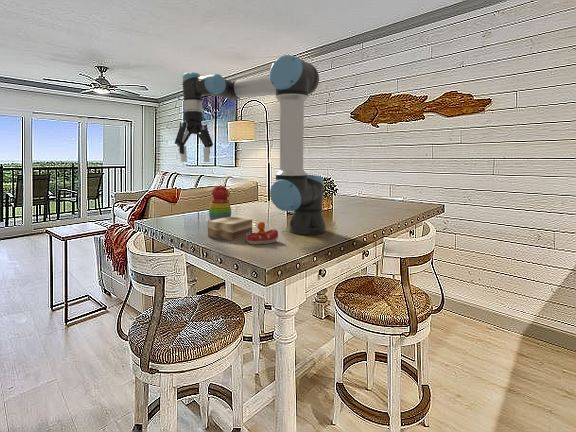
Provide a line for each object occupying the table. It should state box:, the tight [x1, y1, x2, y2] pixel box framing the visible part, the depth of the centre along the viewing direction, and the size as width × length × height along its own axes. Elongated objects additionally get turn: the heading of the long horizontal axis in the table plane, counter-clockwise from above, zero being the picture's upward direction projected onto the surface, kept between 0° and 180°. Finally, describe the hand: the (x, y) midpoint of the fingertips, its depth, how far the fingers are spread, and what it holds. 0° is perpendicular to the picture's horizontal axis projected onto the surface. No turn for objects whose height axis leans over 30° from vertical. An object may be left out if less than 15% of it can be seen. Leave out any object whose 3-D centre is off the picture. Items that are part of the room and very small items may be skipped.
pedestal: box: [207, 216, 253, 241], centre depth 138 cm, size 12×12×6 cm
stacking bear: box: [208, 184, 232, 221], centre depth 154 cm, size 11×10×18 cm
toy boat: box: [244, 221, 279, 246], centre depth 129 cm, size 8×12×8 cm, turn 111°
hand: (195, 162), depth 157 cm, fingers open, 13 cm apart
